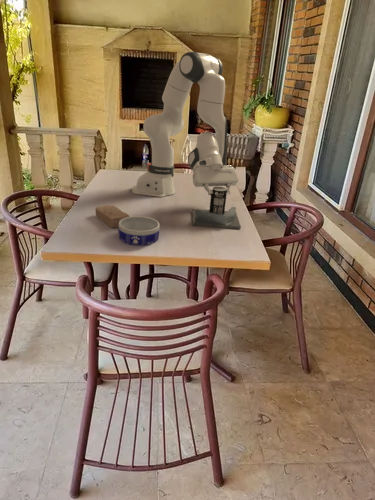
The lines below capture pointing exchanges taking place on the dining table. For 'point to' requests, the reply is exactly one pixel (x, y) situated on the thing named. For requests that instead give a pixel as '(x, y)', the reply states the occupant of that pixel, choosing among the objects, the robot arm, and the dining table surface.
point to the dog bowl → (139, 230)
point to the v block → (216, 219)
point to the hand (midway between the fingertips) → (219, 194)
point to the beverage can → (218, 200)
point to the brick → (110, 215)
